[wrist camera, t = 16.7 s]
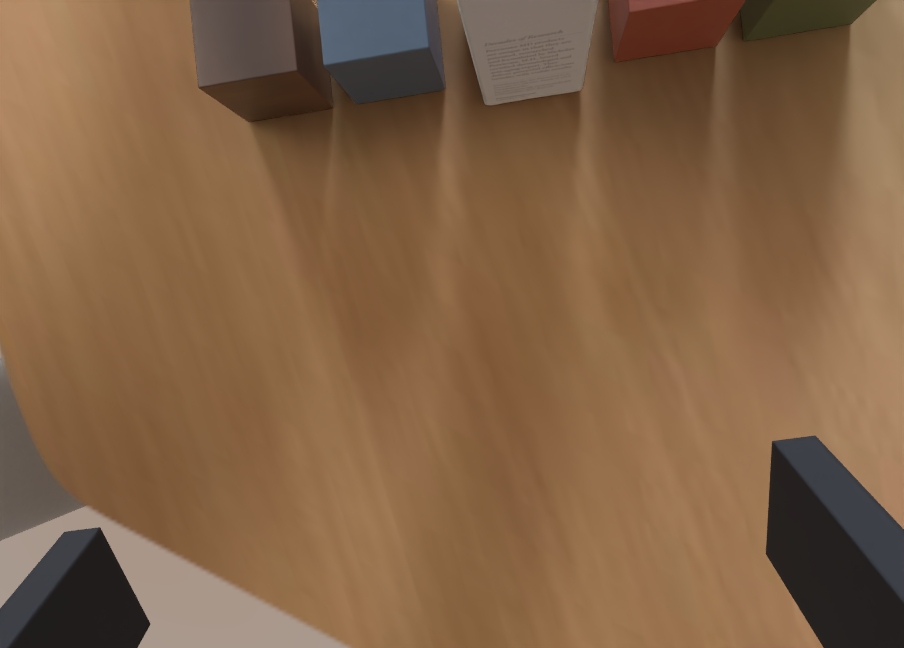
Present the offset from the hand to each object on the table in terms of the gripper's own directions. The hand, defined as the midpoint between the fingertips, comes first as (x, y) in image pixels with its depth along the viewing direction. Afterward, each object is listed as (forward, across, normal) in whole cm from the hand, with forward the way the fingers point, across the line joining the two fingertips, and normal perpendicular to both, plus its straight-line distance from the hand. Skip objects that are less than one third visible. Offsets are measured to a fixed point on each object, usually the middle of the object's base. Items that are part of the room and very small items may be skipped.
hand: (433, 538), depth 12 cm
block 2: (+19, -1, +9) cm, 21 cm away
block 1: (+20, -6, +9) cm, 22 cm away
